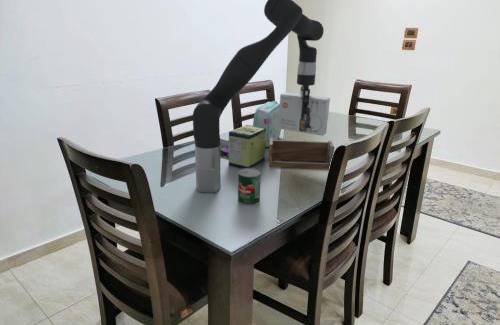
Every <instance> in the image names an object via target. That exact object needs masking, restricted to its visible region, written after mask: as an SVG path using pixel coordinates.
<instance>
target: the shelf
mask: <svg viewBox="0 0 500 325" xmlns="http://www.w3.org/2000/svg"><path fill="white" fill-rule="evenodd" d="M268 148H269V149H268V151H269V152H268V167H281V168H283V167H284V168H303V169H304V168H306V169H328V170H329V166H330V162H331V159H332V156H333V153H334V154H335V146H334V144H333V142H332V141H331V140H328V141H317V140H316V141H315V140H314V141H313V140H309V141H308V140H290V139H289V140H288V139H287V140H285V139H283V140H282V139H277V140H273V138H270V146H269V147H268ZM333 157H334V156H333ZM275 160H276V161H275ZM277 160H279V161H277ZM280 160H290V161H280ZM292 160H293V161H292ZM297 160H298V161H297ZM299 161H301V162H299ZM304 161H319V162H304ZM320 161H321V162H320Z"/></svg>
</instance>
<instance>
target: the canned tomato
mask: <svg viewBox="0 0 500 325" xmlns="http://www.w3.org/2000/svg"><path fill="white" fill-rule="evenodd" d="M237 173H238V174H237V178H238V179H237V183H238V187H237V201H238V203H239V204H241V205H244V206H256V205H258V204H260V201H261V178H262V177H261V175H262V171H261V170H260V169H258V168H254V167H252V168H239V170H238V172H237Z"/></svg>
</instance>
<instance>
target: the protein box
mask: <svg viewBox="0 0 500 325" xmlns="http://www.w3.org/2000/svg"><path fill="white" fill-rule="evenodd" d="M265 139H266V128H262V127H256V126H253V125H249V124H245V125H242V126H240V127H238V128H235V129H232V130H231V131H229V132H228V141H229V158H228V166H232V167H235V168H239V169H243V168H254V167H255V166H257V165H259V164H261V163H262V162H264V161H265V160H266V159H265V158H266V146H265Z"/></svg>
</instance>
